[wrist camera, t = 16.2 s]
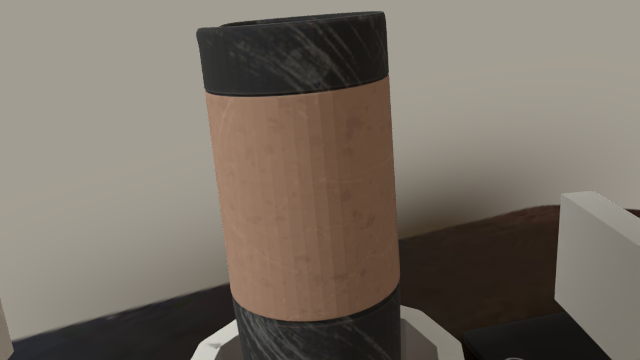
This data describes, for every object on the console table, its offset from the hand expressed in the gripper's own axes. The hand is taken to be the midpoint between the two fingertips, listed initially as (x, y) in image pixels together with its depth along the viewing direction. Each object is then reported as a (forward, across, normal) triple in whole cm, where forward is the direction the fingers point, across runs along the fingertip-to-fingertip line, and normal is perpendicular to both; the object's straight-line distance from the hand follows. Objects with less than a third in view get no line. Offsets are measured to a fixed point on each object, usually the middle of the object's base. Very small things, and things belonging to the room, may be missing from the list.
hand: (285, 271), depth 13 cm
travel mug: (+12, +1, -15) cm, 19 cm away
